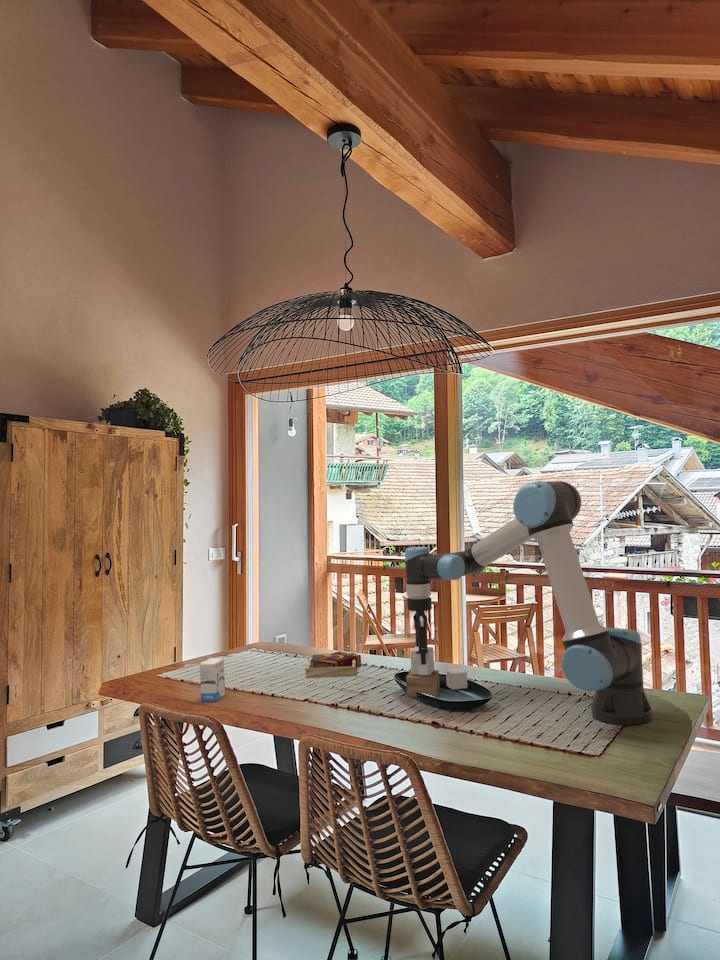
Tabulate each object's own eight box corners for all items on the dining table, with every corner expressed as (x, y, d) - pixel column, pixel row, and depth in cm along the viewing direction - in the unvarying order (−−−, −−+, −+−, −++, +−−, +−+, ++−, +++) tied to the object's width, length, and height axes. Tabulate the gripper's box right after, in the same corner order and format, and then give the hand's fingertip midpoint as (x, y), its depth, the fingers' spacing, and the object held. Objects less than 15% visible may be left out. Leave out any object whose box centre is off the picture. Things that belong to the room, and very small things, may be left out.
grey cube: (467, 688, 217) (466, 672, 217) (452, 689, 215) (451, 673, 216) (461, 684, 221) (460, 668, 222) (446, 685, 220) (446, 670, 220)
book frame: (355, 675, 238) (354, 666, 238) (306, 677, 238) (305, 669, 238) (356, 660, 260) (355, 652, 260) (311, 662, 260) (310, 654, 260)
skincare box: (415, 669, 217) (414, 646, 218) (434, 670, 216) (433, 646, 216) (411, 674, 212) (409, 650, 212) (430, 675, 210) (429, 650, 210)
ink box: (215, 702, 213) (213, 663, 214) (200, 702, 214) (198, 663, 215) (226, 694, 222) (224, 657, 222) (211, 694, 223) (210, 657, 223)
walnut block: (436, 697, 208) (435, 677, 208) (407, 697, 210) (406, 677, 210) (439, 689, 217) (438, 670, 217) (411, 689, 219) (410, 670, 219)
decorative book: (362, 666, 252) (361, 653, 252) (332, 676, 239) (331, 662, 239) (338, 663, 259) (338, 649, 259) (308, 672, 246) (308, 658, 247)
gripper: (434, 601, 204) (438, 679, 204) (428, 592, 224) (431, 663, 224) (408, 602, 204) (412, 680, 204) (405, 593, 224) (408, 664, 224)
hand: (422, 671), depth 214 cm, fingers closed on skincare box, 7 cm apart
